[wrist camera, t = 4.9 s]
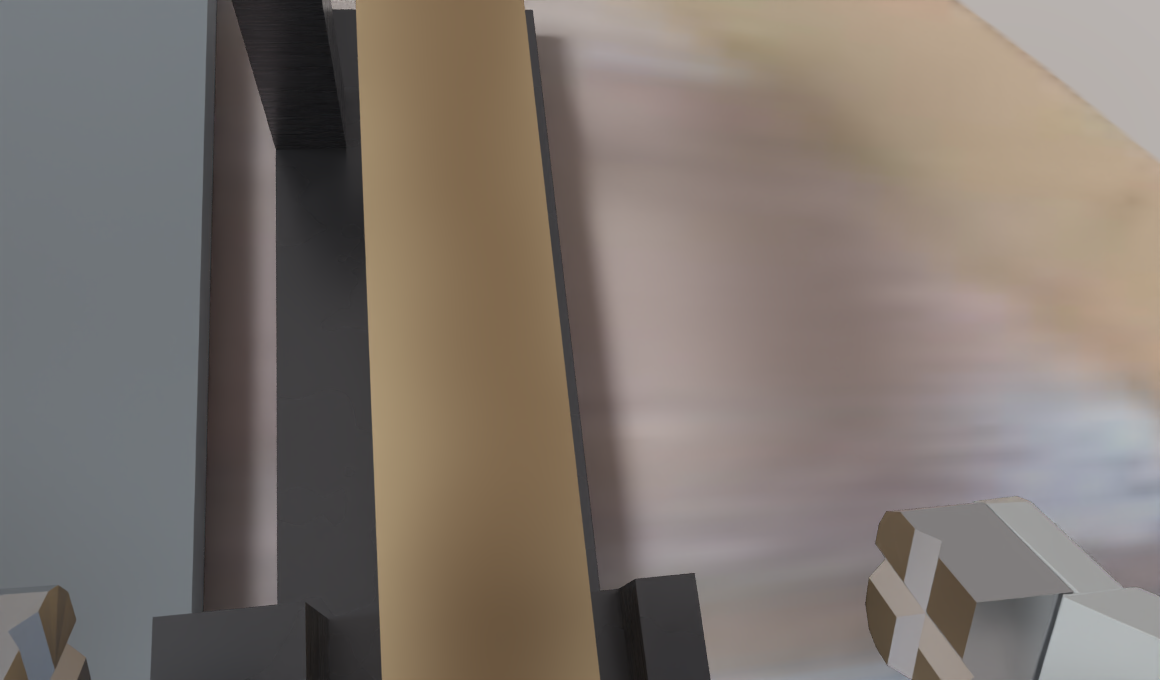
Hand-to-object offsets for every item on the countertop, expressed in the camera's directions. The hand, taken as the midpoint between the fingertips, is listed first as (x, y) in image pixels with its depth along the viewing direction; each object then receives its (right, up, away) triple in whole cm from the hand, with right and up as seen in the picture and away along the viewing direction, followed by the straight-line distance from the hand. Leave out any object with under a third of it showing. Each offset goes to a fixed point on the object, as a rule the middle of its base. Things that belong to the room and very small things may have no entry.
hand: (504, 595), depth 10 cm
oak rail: (-2, +5, +9) cm, 10 cm away
